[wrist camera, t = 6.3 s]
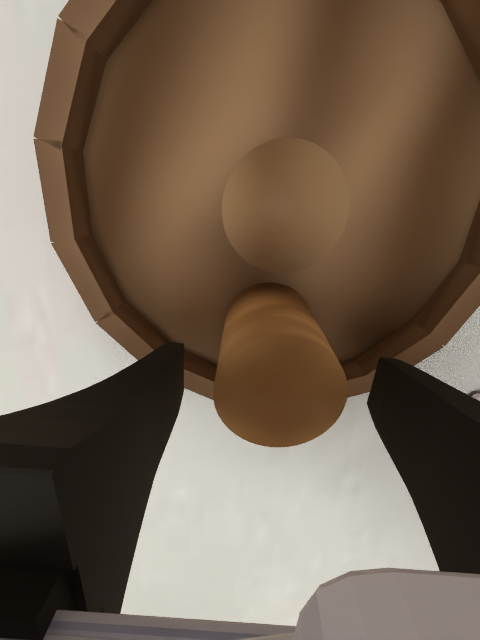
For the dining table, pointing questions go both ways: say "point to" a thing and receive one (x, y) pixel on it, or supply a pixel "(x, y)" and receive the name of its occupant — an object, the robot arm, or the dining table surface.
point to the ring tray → (267, 169)
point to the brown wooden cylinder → (276, 370)
